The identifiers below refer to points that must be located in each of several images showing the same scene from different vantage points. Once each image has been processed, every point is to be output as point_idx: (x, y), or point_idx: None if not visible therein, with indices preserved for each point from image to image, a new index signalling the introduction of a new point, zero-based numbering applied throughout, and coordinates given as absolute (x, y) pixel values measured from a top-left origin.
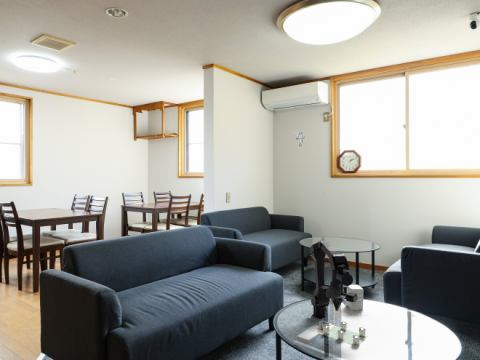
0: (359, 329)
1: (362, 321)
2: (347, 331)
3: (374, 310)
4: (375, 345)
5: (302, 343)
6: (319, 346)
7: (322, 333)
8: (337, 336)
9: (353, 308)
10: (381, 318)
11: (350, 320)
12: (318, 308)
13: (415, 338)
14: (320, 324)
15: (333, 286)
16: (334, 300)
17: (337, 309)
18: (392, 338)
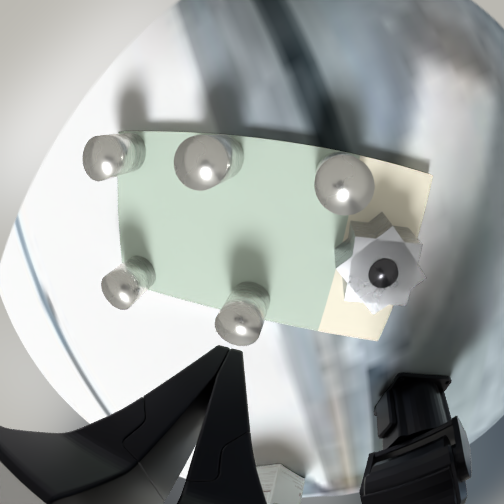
0: (125, 281)
1: None
2: (221, 291)
3: None
4: (83, 222)
5: (426, 3)
6: (322, 7)
7: None
8: (253, 183)
9: (272, 469)
10: None
11: (258, 409)
12: (428, 420)
13: (53, 337)
14: (407, 240)
15: None
16: (185, 497)
17: (202, 358)
18: (77, 315)
